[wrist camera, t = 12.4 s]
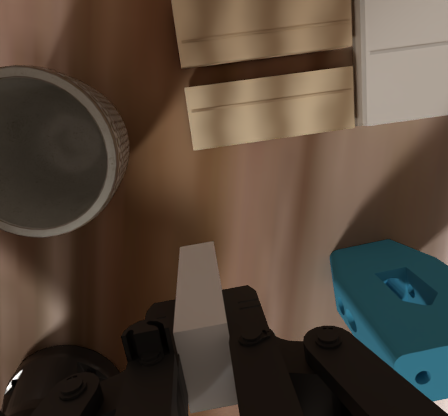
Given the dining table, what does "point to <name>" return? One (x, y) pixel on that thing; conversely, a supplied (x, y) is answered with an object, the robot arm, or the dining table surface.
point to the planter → (56, 152)
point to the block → (397, 309)
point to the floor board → (399, 60)
